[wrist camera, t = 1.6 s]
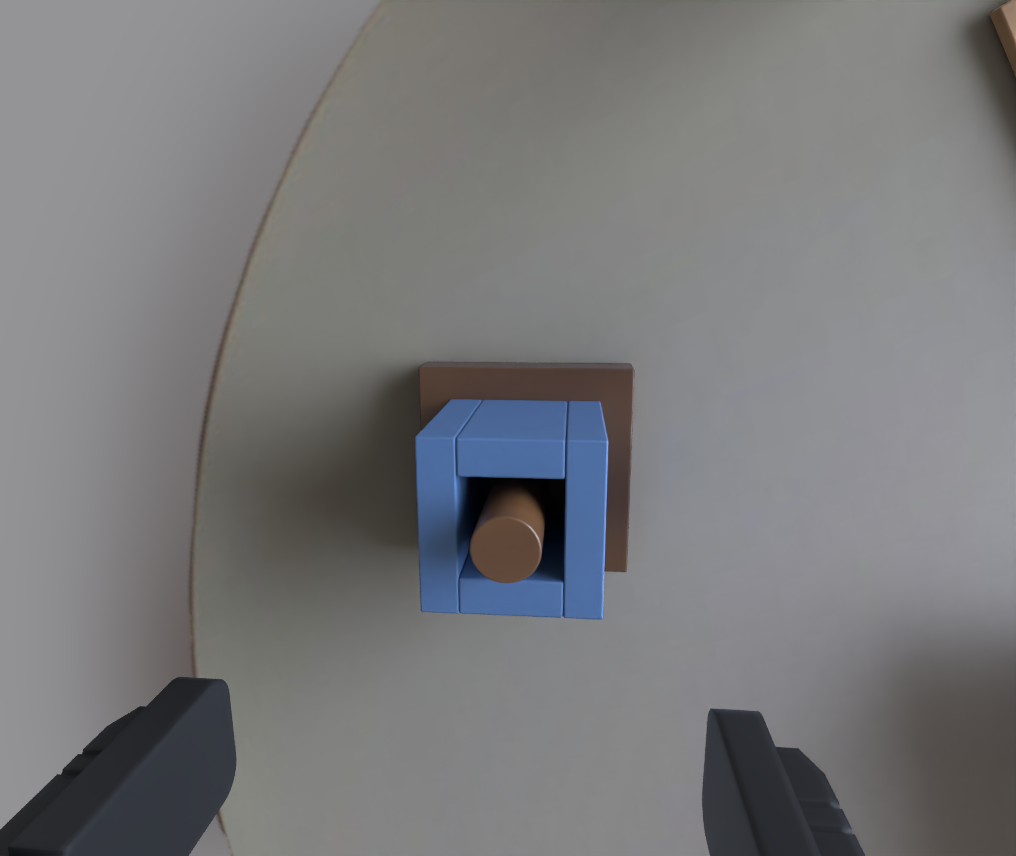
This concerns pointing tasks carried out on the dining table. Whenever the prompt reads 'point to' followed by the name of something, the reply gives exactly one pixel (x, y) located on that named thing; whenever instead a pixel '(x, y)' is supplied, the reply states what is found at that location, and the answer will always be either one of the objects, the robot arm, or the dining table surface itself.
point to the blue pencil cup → (513, 454)
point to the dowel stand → (525, 501)
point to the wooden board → (1006, 29)
